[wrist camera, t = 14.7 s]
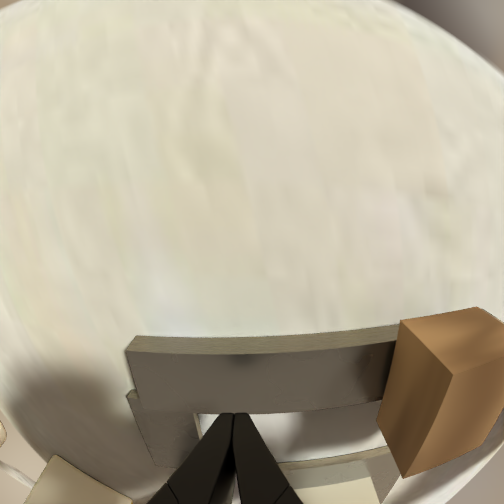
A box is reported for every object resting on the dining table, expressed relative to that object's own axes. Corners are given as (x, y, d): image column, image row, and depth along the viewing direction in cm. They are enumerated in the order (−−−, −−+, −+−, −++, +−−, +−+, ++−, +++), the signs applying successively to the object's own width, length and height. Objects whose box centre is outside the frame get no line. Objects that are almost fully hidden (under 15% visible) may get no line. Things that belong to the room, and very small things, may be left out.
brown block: (476, 306, 9) (531, 343, 5) (447, 400, 10) (481, 445, 6) (400, 320, 9) (453, 374, 5) (376, 420, 10) (402, 478, 7)
